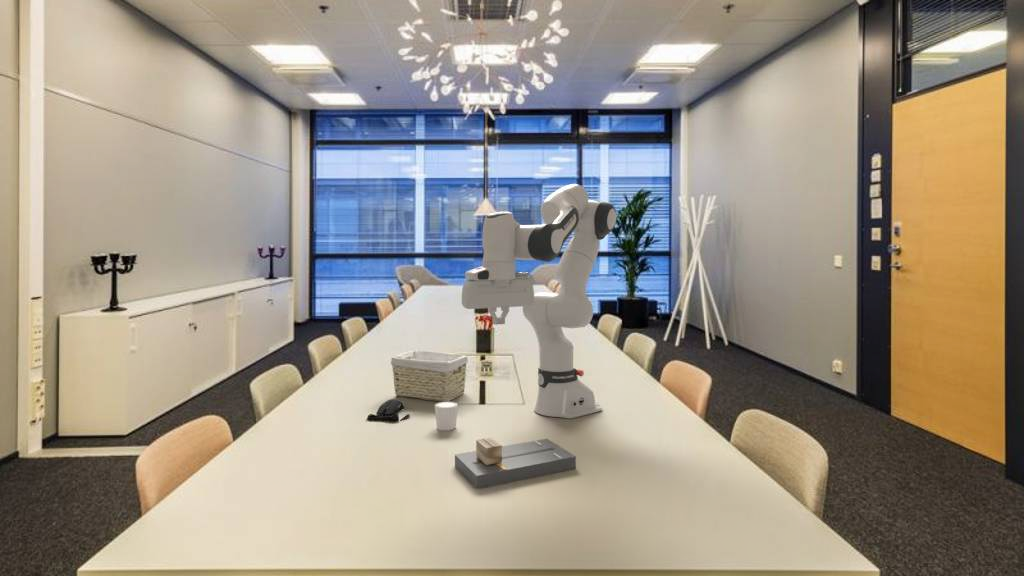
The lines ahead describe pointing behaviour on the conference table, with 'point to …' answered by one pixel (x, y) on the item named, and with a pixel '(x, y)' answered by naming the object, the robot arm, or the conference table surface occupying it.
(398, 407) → the computer mouse
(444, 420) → the white cup
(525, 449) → the fader console
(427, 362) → the storage basket
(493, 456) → the fader tab
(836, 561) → the conference table surface
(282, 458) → the conference table surface
